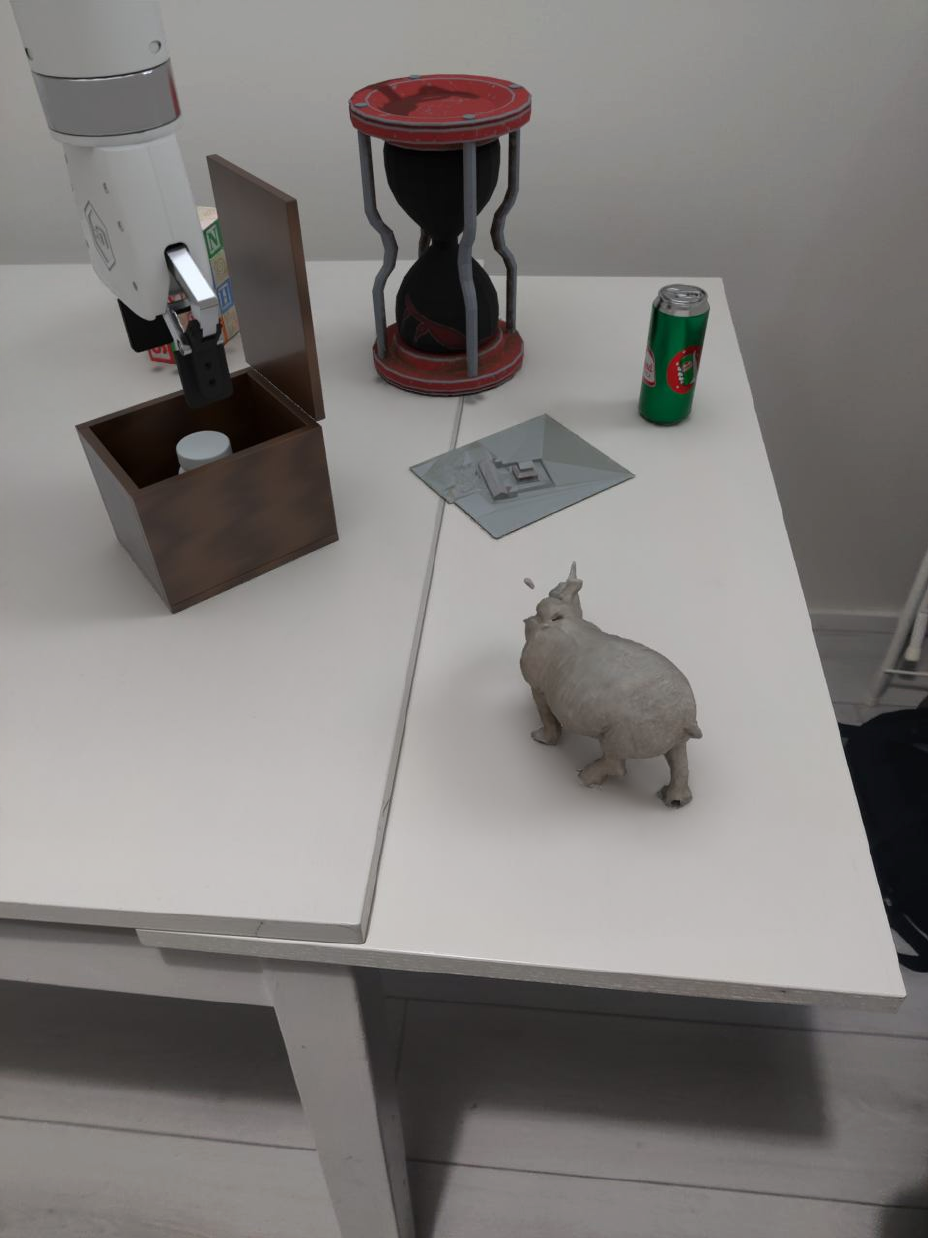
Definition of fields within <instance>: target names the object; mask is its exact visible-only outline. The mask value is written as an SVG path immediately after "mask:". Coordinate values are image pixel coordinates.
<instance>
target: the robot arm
mask: <svg viewBox="0 0 928 1238" xmlns="http://www.w3.org/2000/svg"><path fill="white" fill-rule="evenodd" d="M9 4H10V7H11V11H12V13H13V16H14V20H15V23H16V26H17V29H18V33H19V36H20V39H21V43H22V45H23V49H24V52H25V55H26V60H27V61H28V62H27V63H28V66H29V69H30V73H31V76H32V79H33V83H34V86H35V90H36V93H37V96H38V100H39V103H40V105H41V106H40V107H41V109H42V112H43V115H44V118H45V122H46V124H47V128H48V131H49V134H50V136H51V138H52V139H54V141H55V142H58V143H61V145H62V151H63V155H64V160H65V166H66V169H67V174H68V177H69V182H70V187H71V191H72V194H73V197H74V202H75V205H76V210H77V213H78V214H77V215H78V217H79V221H80V224H81V228H82V233H83V237H84V240H85V244H86V247H87V252H88V254H89V255H88V256H89V258H90V262H91V265H92V268H93V271H94V273H95V275H96V276H97V278H98V279H99V281H100V282H101V283H102V284H103V285H104V286H105V287H106V288H107V289H108V290H109V291H110V292H111V293H113V295H115V296H116V301H117V304H118V308H119V311H120V315H121V319H122V322H123V325H124V328H125V332H126V335H127V339H128V341H129V342H128V343H129V345H130V348H131V349H132V350H133V351H134V352H135V353H136V354H137V353H138V354H140V353H144V352H148V350H150V349H153V348H157V347H160V346H163V345H166V344H170V343H172V342H173V341H175V343H176V345H177V347H178V349H179V350H177V351H174V352H173V353H174V357H175V361H176V363H175V365H176V368H177V373H178V377H179V380H180V383H181V387H182V389H183V392H184V396H185V399H186V403H187V404H188V405H189V406H190V407H191V408H194V409H195V408H198V407H201V406H204V405H207V404H210V403H213V402H216V401H218V400H221V399H224V398H227V397H230V396H231V395H232V394H233V387H232V382H231V377H230V373H231V372H230V369H229V364H228V359H227V354H226V349H225V346H224V345H225V344H224V337H223V334H222V327H223V325H222V324H221V323H220V321H221V319H220V318H219V302H218V299H217V297H216V295H215V293H214V287H213V280H212V274H211V268H210V263H209V258H208V253H207V249H206V244H205V240H204V236H203V232H202V228H201V224H200V220H199V216H198V212H197V208H196V206H197V205H196V201H195V198H194V194H193V190H192V186H191V183H190V179H189V176H188V171H187V169H186V166H185V162H184V159H183V155H182V152H181V149H180V146H179V143H178V139H177V136H176V132H178V131H179V130H180V129H181V128H182V127H183V126H184V123H185V122H184V121H185V120H184V116H183V112H182V107H181V103H180V97H179V93H178V88H177V83H176V79H175V78H176V77H175V74H174V73H175V72H174V69H173V64H172V59H171V56H170V55H171V54H170V51H169V46H168V40H167V36H166V31H165V25H164V22H163V18H162V11H161V8H160V2H159V0H9ZM181 293H184V294H185V296H186V298H183V299H180V300H176V301H173V302H168V297H171V296H174V295H178V294H181ZM188 312H191V314H192V316H193V317H194V320H190V321H189V322H188V325H187V328H186V331H184V329H183V327H182V325H181V323H180V321H179V318H178V315H181V314H185V313H188ZM223 344H224V345H223Z"/></svg>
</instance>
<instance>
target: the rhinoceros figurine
mask: <svg viewBox="0 0 928 1238" xmlns="http://www.w3.org/2000/svg"><path fill="white" fill-rule="evenodd" d="M583 582H584V581H583V579H581V578H577V562H576V560H573V561H572V564H571V567H570V572H569V575H568V577H567V579H566V580H565V581H560V582H558V584H557V585H556V586H555V587H554V588H552V589H551V590H550V591H549V592H548V596H547V597H544V598H543V599H541V600H540V601H539V602H538V603H537V605H536V606H535V611H536V613H535V614H534V615H531V616H528V617H527V618H525V619H522V622H523V623H524V637H525V643H524V645H523V648H522V650H521V653H520V654H521V655H520V658H519V668H520V673H521V675H522V677H523V680H524V681H525V682H526V683H527V684H528V685H529V686H530V690H531V696H532V699H533V701H534V704H535V705H536V708H537V711H538V715H539V717H540V718H539V719H540V721H541V723H542V726H543V727H541V728H539V729H537V730H534V731H532V732H531V733H530V735H531V736H530V738H532V739H534V740H536V741H538V742H541V743H542V744H543V743H544V744H546V745H550V746H551V745H552V746H556V745H557V743H556V740H558V739H561V737H562V734H563V731H562V730H563V729H562V727H563V728H564V729H566V730H567V731H568V732H571V733H573V734H575V735H579V736H581V737H590V738H593V739H596V740H598V741H599V744H600V749H601V751H602V756H601V757H600V758H597V759H595V760H594V761H592V762H591V763H590V764H588V765H586V766H585V767H584V768H583V769H576V770H575V771H576V772H577V775H576V776H577V777H578V782H579V785H580V786H584V787H588V788H593V787H595V788H596V789H597V790H600V791H602V789H601V786H602V784H603V782H605V781H606V779H607V777H608V775H612V776H618V777H620V778H621V777H625V776H626V775H627V772H628V769H627V760H645V759H646V760H647V759H653V758H656V757H661V756H663V757H664V759H665V760H666V763H667V765H668V767H669V773H670V781H669V783H668V784H665V785H663V786H662V788H661V789H660V791H659V792H658V793H657V796H658V798H659V799H661V800H662V801H663V802H664V804H665V805H666V806H667V807H669V808H674V805H673V804H672V802H673V801H680V804H679V806H678V807H676V809H677V810H678V809H681V808H683V807H684V806H686V805H687V803H689V802H690V801H691V800H692V799H693V794H692V791H691V788H690V787H689V776H690V774H689V773H690V772H689V760H688V752H687V742H688V741H689V740H691V739H694V740H700V739H702V738H703V732H702V729H701V728H700V727H699V725H698V721H697V711H698V710H697V701H696V698H695V694H694V692H693V688H692V686H691V684H690V681H689V679H688V678H687V676H686V675H685V674H684V673H683V672H682V670H681V669H680V668H679V667H678V666H677V665H676V664H674V662H672V661H671V660H670V659H669V658H667V656H665V655H664V654H662V653H661V652H659V651H657V650H654V649H653V648H650V647H649V646H646V645H645V644H643V643H641V642H638V641H635V640H632V639H630V638H626V637H621V636H619V635H617V634H610V633H608V632H605V631H603V630H602V629H601V628H600V627H598V626H597V625H596V624H595V623H593V622H592V621H588V620H586V619H584V618H583V617H584V615H583V614H584V613H583V609H582V606H581V605H582V604H581V599H580V595H579V591H581V590H582V588H583V584H584V583H583ZM523 583H524V584H525V585H526V586H527V587H528V588H529V589H530V590H534V589H535V584H534V582H533V581H532V580H531V579H530V578H529V577H525V578H524V579H523Z"/></svg>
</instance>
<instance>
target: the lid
mask: <svg viewBox="0 0 928 1238" xmlns="http://www.w3.org/2000/svg"><path fill="white" fill-rule="evenodd" d="M205 158H206V163H207V168H208V169H207V170H208V175H209V180H210V184H211V190H212V195H213V199H214V206H215V207H216V211H217V216H218V221H219V226H220V231H221V237H222V242H223V247H224V252H225V257H226V262H227V268H228V273H229V278H230V283H231V288H232V294H233V299H234V304H235V309H236V314H237V319H238V325H239V335H240V341H241V345H242V351H243V354H244V355H243V356H244V361H245V363H246V364H247V365H249V367H250V366H251V367H252V368H254V369H255V370H256V371H257V372H258V373H259V374H261V375H262V376H263V377H264V378H265V379H266V380H268V381H269V382H270V383H271V384H272V385H274V386H275V387H276V388H277V389H278V390H280V391H281V392H282V393H283V394H284V395H285V396H287V397H288V398H289V399H290V400H291V401H293V402H294V403H295V404H296V405H297V406H298V407H300V408H301V409H302V410H303V411H304V412H306V413H307V414H308V415H309V416H310V417H311V418H313V419H314V420H315V421H316V422H320V421H323V420H325V419H326V411H325V403H324V396H323V389H322V380H321V373H320V365H319V357H318V351H317V343H316V335H315V327H314V320H313V312H312V303H311V297H310V291H309V290H310V289H309V281H308V274H307V265H306V259H305V250H304V244H303V242H304V241H303V236H302V229H301V227H302V226H301V220H300V213H299V206H298V199H297V198H295V197H293V196H292V195H290V194H288V193H286V192H284V191H283V190H282V189H279V188H277V187H275V186H274V185H272V184H270V183H269V182H267V181H265V180H264V179H261V178H259V177H258V176H256V175H255V174H253V173H250V172H249V171H248V170H245V169H244V168H243V167H240V166H238V165H236V164H235V163H233V162H231V161H230V160H228V159H226V158H224V157H223V156H220V155H219V154H217V153H213V154H208V155H206V156H205Z"/></svg>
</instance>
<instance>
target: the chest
mask: <svg viewBox="0 0 928 1238" xmlns="http://www.w3.org/2000/svg"><path fill="white" fill-rule="evenodd" d="M229 373H230V377H231V382H232V387H233V394H232V395H231V396H230V397H227V398H224V399H221V400H218V401H216V402H213V403H210V404H207V405H204V406H201V407H198V408H195V409H194V408H191V407H190V406H189V405H188V404H187V403H186V399H185V396H184V392H183V388H182V389H179V390H176V391H173V392H170V393H167V394H164V395H161V396H158V397H156V398H153V399H149V400H146V401H145V402H144V401H143V402H141V403H137V404H135V405H132V406H129V407H126V408H123V409H119V410H116V411H113V412H111V413H108V414H104V415H102V416H98V417H96V418H94V419H90V420H88V421H84V422H82V423H79V424H76V425H75V424H74V428H75V430H76V433H77V436H78V438H79V441H80V444H81V446H82V449H83V452H84V455H85V457H86V460H87V463H88V466H89V467H90V471H91V473H92V476H93V478H94V481H95V484H96V487H97V489H98V492H99V494H100V497H101V500H102V502H103V505H104V507H105V511H106V513H107V515H108V518H109V520H110V524H111V526H112V529H113V531H114V534H115V536H116V539H117V540H118V541H119V543H120V544H121V545H122V547H123V548H124V550H125V551H126V553H127V554H128V556H129V557H130V558H131V559H132V561H133V562H134V563H135V565H136V566H137V568H138V569H139V570H140V572H142V574H143V576H144V577H145V578H146V580H147V581H148V583H149V584H150V585H151V586H152V588H153V589H154V590H155V592H156V593H157V595H158V596H159V597H160V599H161V600H162V601H163V603H164V604H165V605H166V607H167V608H168V609H169V611H170V612H171V614H172V615H174V614H176V613H179V612H181V611H183V610H185V609H188V608H189V607H192V606H194V605H197V604H199V603H201V602H204V601H205V600H207V599H210V598H212V597H214V596H216V595H219V594H222V593H223V592H225V591H228V590H230V589H232V588H234V587H237V586H239V585H241V584H243V583H246V582H247V581H250V580H252V579H254V578H256V577H258V576H261V575H263V574H265V573H268V572H269V571H272V570H274V569H276V568H279V567H281V566H283V565H285V564H288V563H289V562H292V561H294V560H296V559H298V558H301V557H303V556H306V555H307V554H309V553H312V552H314V551H316V550H319V549H320V548H322V547H326V546H327V545H330V544H332V543H334V542H337V541H338V540H339V532H338V525H337V519H336V512H335V505H334V500H333V493H332V492H333V491H332V486H331V478H330V472H329V465H328V459H327V453H326V452H327V451H326V446H325V445H326V444H325V439H324V438H325V437H324V431H323V426H322V425H321V424H320V423H319V422H318V421H315V420H314V419H313V418H312V417H310V416H309V415H308V414H307V413H306V412H305V411H303V410H302V409H301V408H300V407H299V406H297V405H296V404H295V403H294V402H293V401H292V400H290V399H289V398H288V397H287V396H286V395H284V394H283V393H282V392H281V391H280V390H278V389H277V388H276V387H275V386H274V385H273V384H271V383H270V382H269V381H268V380H267V379H265V378H264V377H263V376H262V375H261V374H260V373H258V372H257V371H256V370H255V369H254V368H252V367H251V366H250V365H249V366H246V367H244V368H240V369H238V370H235V371H233V372H229ZM201 431H216V432H220V433H223V434H224V435H226V436H227V437H228V438H229V440H230V444H231V448H232V452H233V454H231V455H229V456H226V457H223V458H221V459H218V460H216V461H213V462H210V463H208V464H205V465H202V466H200V467H197V468H195V469H192V470H189V471H187V472H184V473H181V474H179V469H180V466H181V465H180V463H179V460H178V456H177V451H176V447H177V444H178V443H179V441H180V440H181V439H183V438H184V437H186V436H188V435H190V434H193V433H196V432H201Z"/></svg>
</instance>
